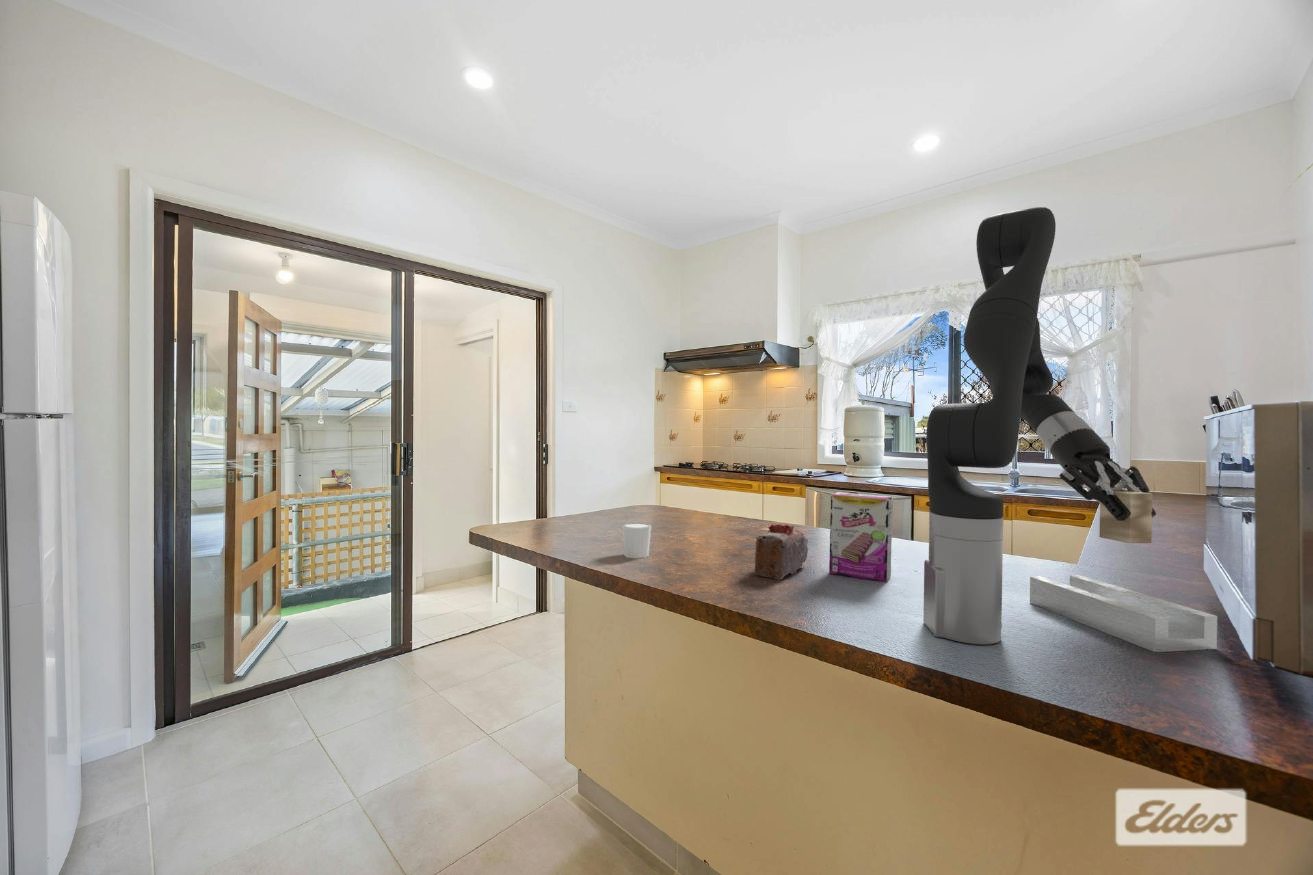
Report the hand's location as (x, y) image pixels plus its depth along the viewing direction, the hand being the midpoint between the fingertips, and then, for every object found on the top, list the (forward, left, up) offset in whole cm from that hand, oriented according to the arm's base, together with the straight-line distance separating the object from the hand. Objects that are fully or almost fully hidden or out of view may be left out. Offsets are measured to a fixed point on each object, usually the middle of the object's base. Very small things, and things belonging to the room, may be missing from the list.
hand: (1137, 517), depth 84 cm
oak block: (-1, +2, -4) cm, 5 cm away
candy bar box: (-40, +12, -16) cm, 45 cm away
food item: (-56, +12, -16) cm, 59 cm away
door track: (-6, -6, -16) cm, 18 cm away
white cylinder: (-88, +17, -16) cm, 91 cm away
